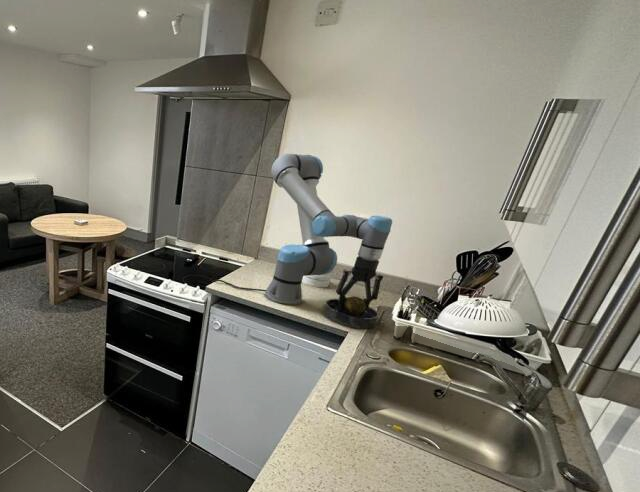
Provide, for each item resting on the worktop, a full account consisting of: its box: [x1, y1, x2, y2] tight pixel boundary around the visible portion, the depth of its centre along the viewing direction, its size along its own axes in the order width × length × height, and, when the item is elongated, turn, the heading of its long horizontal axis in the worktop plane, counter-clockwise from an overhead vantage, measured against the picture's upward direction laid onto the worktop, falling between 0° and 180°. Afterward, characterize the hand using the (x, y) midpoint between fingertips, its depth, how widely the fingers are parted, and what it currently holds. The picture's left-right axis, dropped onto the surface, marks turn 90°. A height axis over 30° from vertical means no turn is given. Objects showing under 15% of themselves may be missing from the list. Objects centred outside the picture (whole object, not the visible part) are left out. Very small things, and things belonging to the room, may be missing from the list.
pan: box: [322, 298, 380, 329], centre depth 157 cm, size 19×19×4 cm
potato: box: [343, 295, 366, 314], centre depth 155 cm, size 8×13×8 cm, turn 149°
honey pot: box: [301, 271, 332, 288], centre depth 193 cm, size 13×13×18 cm
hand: (350, 312), depth 157 cm, fingers closed on potato, 7 cm apart
